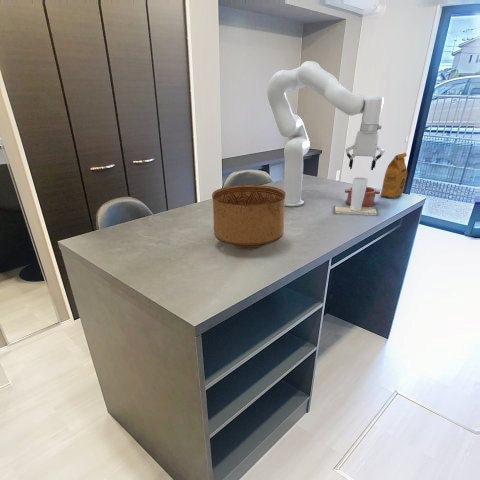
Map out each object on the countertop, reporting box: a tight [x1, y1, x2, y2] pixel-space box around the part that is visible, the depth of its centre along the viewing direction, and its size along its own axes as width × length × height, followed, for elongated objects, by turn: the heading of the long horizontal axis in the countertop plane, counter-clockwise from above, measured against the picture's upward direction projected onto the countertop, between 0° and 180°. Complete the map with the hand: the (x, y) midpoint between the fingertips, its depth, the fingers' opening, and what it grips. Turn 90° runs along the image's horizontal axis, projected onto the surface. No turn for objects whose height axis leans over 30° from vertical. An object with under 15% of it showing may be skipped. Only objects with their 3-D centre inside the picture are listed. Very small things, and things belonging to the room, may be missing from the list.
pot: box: [211, 184, 286, 250], centre depth 138 cm, size 28×28×20 cm
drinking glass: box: [349, 176, 369, 211], centre depth 174 cm, size 7×7×15 cm
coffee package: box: [380, 152, 408, 199], centre depth 193 cm, size 10×12×22 cm
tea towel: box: [334, 205, 378, 216], centre depth 178 cm, size 20×12×1 cm, turn 77°
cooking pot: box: [344, 186, 381, 207], centre depth 187 cm, size 18×14×7 cm
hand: (361, 169), depth 167 cm, fingers open, 9 cm apart
